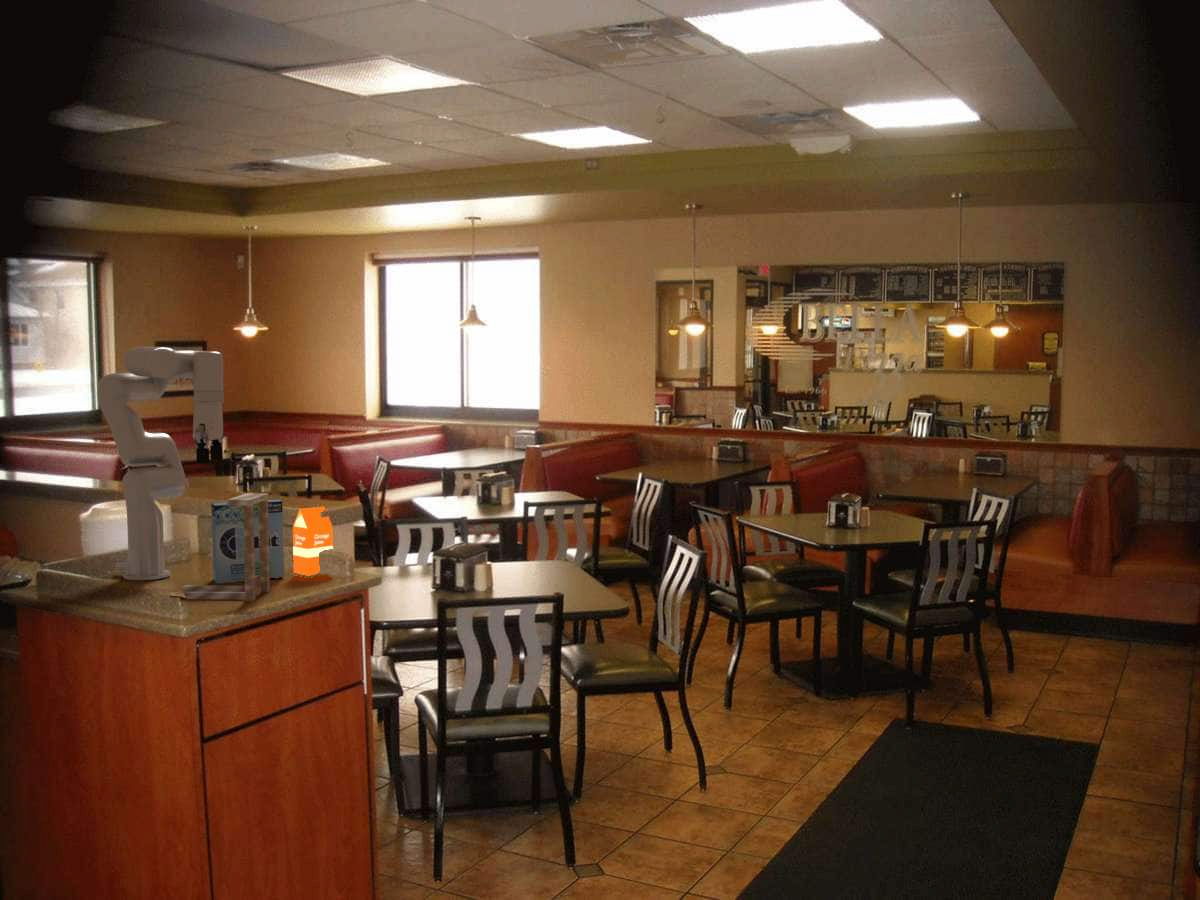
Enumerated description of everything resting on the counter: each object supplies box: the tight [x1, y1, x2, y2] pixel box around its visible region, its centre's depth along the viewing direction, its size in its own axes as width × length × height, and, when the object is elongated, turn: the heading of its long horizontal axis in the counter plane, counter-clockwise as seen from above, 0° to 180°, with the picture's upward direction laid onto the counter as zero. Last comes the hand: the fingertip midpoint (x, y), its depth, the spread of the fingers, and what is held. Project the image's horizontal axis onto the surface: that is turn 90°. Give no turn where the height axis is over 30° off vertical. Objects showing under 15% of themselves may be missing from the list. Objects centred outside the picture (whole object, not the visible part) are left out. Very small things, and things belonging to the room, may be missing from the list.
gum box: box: [210, 498, 286, 584], centre depth 323 cm, size 20×5×23 cm, turn 119°
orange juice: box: [292, 506, 334, 576], centre depth 332 cm, size 8×9×20 cm
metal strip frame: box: [181, 492, 271, 602], centre depth 300 cm, size 23×15×27 cm, turn 88°
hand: (210, 461), depth 299 cm, fingers open, 9 cm apart
